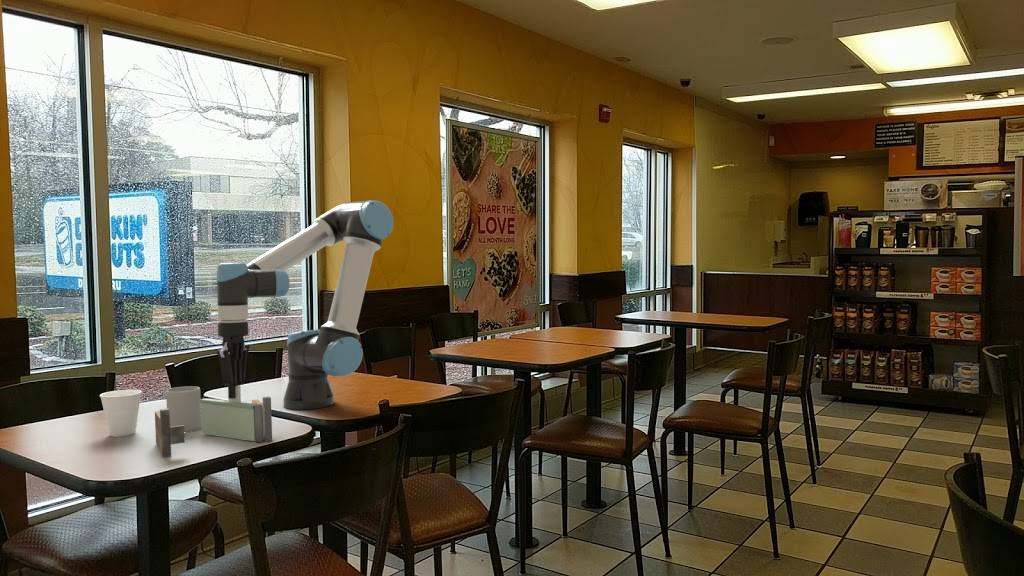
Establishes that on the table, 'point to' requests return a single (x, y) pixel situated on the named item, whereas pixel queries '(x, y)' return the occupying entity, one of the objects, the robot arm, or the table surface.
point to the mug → (184, 407)
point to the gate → (232, 419)
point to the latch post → (167, 432)
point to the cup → (121, 411)
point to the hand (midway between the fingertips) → (234, 409)
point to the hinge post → (266, 417)
